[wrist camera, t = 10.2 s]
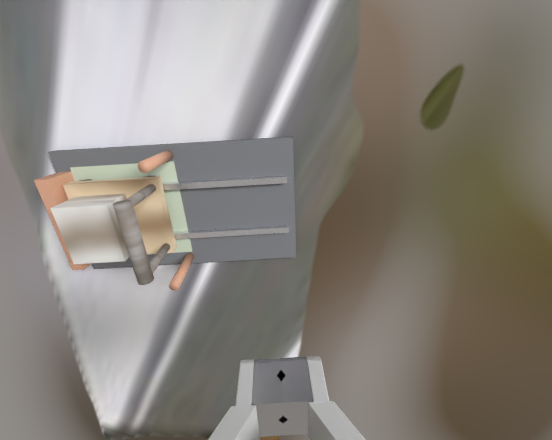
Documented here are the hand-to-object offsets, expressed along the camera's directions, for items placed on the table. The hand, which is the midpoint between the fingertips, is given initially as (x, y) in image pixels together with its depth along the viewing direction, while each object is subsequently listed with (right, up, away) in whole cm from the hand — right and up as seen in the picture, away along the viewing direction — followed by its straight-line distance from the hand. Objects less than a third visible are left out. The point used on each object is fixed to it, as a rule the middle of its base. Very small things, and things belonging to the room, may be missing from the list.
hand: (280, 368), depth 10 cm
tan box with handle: (-20, +6, +25) cm, 33 cm away
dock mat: (-13, +7, +26) cm, 30 cm away
